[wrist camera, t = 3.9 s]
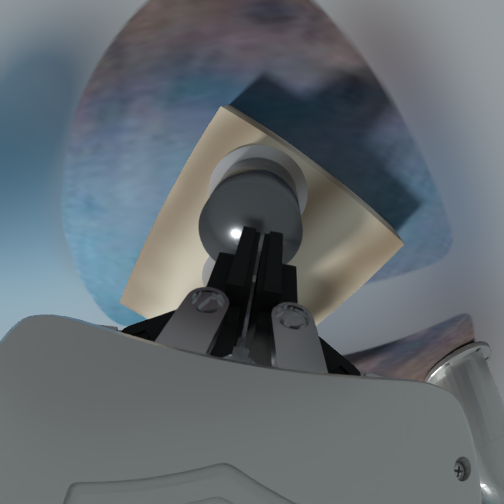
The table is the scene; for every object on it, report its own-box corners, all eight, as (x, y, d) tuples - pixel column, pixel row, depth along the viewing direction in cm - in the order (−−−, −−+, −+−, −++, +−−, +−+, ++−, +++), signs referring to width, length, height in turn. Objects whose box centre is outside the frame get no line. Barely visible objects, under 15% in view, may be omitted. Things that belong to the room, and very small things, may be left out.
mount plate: (391, 225, 21) (405, 245, 19) (257, 351, 31) (255, 373, 28) (229, 104, 18) (220, 106, 15) (131, 283, 27) (118, 303, 24)
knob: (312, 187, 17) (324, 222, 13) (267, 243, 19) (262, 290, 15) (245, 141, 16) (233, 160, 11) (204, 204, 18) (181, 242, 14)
